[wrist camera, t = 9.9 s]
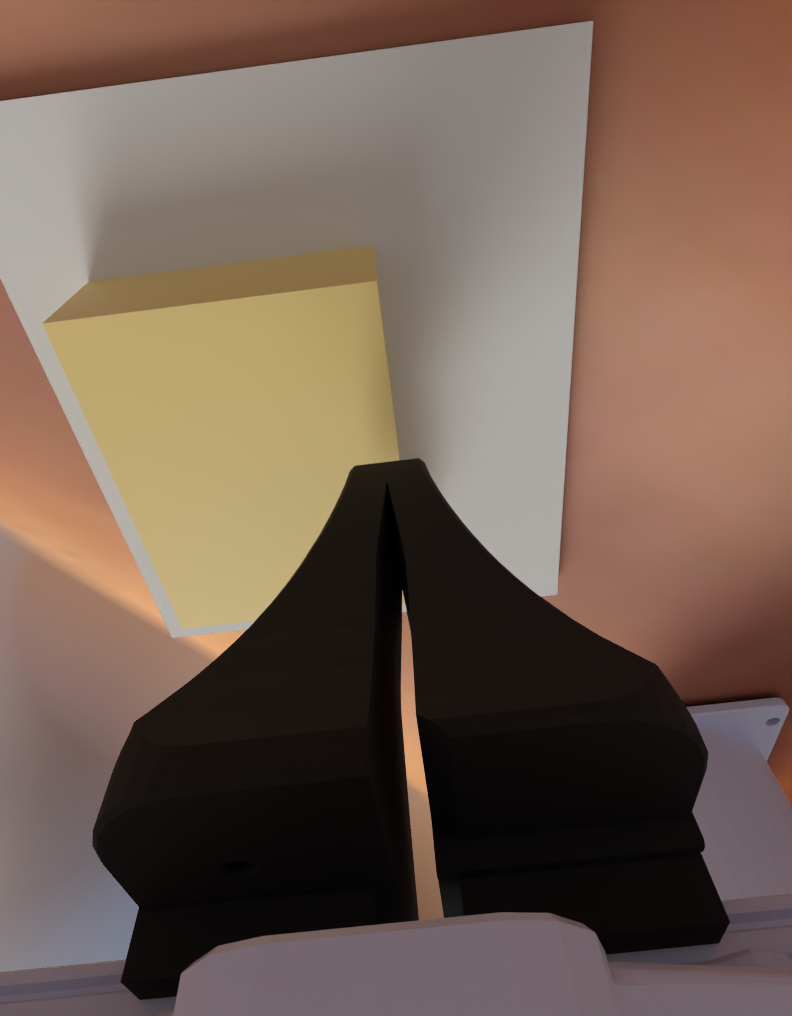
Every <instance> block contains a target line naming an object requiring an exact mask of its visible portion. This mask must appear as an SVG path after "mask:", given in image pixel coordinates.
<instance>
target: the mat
mask: <svg viewBox="0 0 792 1016" xmlns="http://www.w3.org/2000/svg"><path fill="white" fill-rule="evenodd" d="M592 35H593V21H586V22H578V23H571V24H564V25H556V26H549V27H542V28H534V29H527V30H519V31H512V32H505V33H497V34H490V35H483V36H475V37H468V38H460V39H453V40H446V41H438V42H431V43H424V44H416V45H409V46H401V47H394V48H387V49H379V50H372V51H364V52H357V53H350V54H342V55H335V56H328V57H320V58H313V59H305V60H298V61H291V62H283V63H276V64H269V65H261V66H254V67H246V68H239V69H232V70H224V71H217V72H210V73H202V74H195V75H187V76H180V77H173V78H165V79H158V80H151V81H143V82H136V83H128V84H121V85H114V86H106V87H99V88H92V89H84V90H77V91H69V92H62V93H55V94H47V95H40V96H33V97H25V98H18V99H10V100H3V101H0V279H1V281H2V283H3V285H4V287H5V289H6V291H7V293H8V296H9V298H10V300H11V302H12V304H13V306H14V308H15V310H16V312H17V314H18V316H19V319H20V321H21V323H22V325H23V327H24V329H25V331H26V333H27V335H28V337H29V339H30V342H31V344H32V346H33V348H34V350H35V352H36V354H37V356H38V358H39V360H40V362H41V365H42V367H43V369H44V371H45V373H46V375H47V377H48V379H49V381H50V383H51V385H52V388H53V390H54V392H55V394H56V396H57V398H58V400H59V402H60V404H61V406H62V408H63V411H64V413H65V415H66V417H67V419H68V421H69V423H70V425H71V427H72V429H73V431H74V434H75V436H76V438H77V440H78V442H79V444H80V446H81V448H82V450H83V452H84V454H85V457H86V459H87V461H88V463H89V465H90V467H91V469H92V471H93V473H94V475H95V477H96V480H97V482H98V484H99V486H100V488H101V490H102V492H103V494H104V496H105V498H106V500H107V503H108V505H109V507H110V509H111V511H112V513H113V515H114V517H115V519H116V521H117V523H118V526H119V528H120V530H121V532H122V534H123V536H124V538H125V540H126V542H127V544H128V546H129V549H130V551H131V553H132V555H133V557H134V559H135V561H136V563H137V565H138V567H139V569H140V572H141V574H142V576H143V578H144V580H145V582H146V584H147V586H148V588H149V590H150V592H151V595H152V597H153V599H154V601H155V603H156V605H157V607H158V609H159V611H160V613H161V615H162V618H163V620H164V622H165V624H166V626H167V628H168V630H169V632H170V634H171V636H172V638H177V637H186V636H195V635H203V634H212V633H221V632H230V631H239V630H247V629H248V628H249V627H250V626H251V625H252V624H253V623H254V622H255V621H248V622H239V623H231V624H222V625H213V626H204V627H195V628H187V629H182V627H181V625H180V622H179V620H178V618H177V616H176V614H175V612H174V609H173V607H172V605H171V603H170V601H169V599H168V596H167V594H166V592H165V590H164V588H163V585H162V583H161V581H160V579H159V577H158V575H157V572H156V570H155V568H154V566H153V564H152V562H151V559H150V557H149V555H148V553H147V551H146V548H145V546H144V544H143V542H142V540H141V538H140V535H139V533H138V531H137V529H136V527H135V525H134V522H133V520H132V518H131V516H130V514H129V511H128V509H127V507H126V505H125V503H124V501H123V498H122V496H121V494H120V492H119V490H118V488H117V485H116V483H115V481H114V479H113V477H112V475H111V472H110V470H109V468H108V466H107V464H106V461H105V459H104V457H103V455H102V453H101V451H100V448H99V446H98V444H97V442H96V440H95V438H94V435H93V433H92V431H91V429H90V427H89V424H88V422H87V420H86V418H85V416H84V414H83V411H82V409H81V407H80V405H79V403H78V401H77V398H76V396H75V394H74V392H73V390H72V387H71V385H70V383H69V381H68V379H67V377H66V374H65V372H64V370H63V368H62V366H61V364H60V361H59V359H58V357H57V355H56V353H55V351H54V348H53V346H52V344H51V342H50V340H49V337H48V335H47V333H46V331H45V329H44V327H43V324H42V323H43V322H44V321H45V320H46V319H48V318H49V317H50V316H51V315H52V314H53V313H54V312H55V311H57V310H58V309H59V308H60V307H61V306H62V305H63V304H64V303H65V302H67V301H68V300H69V299H70V298H71V297H72V296H73V295H74V294H75V293H77V292H78V291H79V290H80V289H81V288H82V287H83V286H84V285H85V284H87V283H88V282H92V281H99V280H107V279H115V278H123V277H130V276H138V275H146V274H154V273H162V272H169V271H177V270H185V269H193V268H200V267H208V266H216V265H224V264H231V263H239V262H247V261H255V260H262V259H270V258H278V257H286V256H293V255H301V254H309V253H317V252H325V251H332V250H340V249H348V248H356V247H363V246H371V245H374V251H375V259H376V267H377V275H378V283H379V291H380V299H381V307H382V315H383V323H384V331H385V339H386V347H387V355H388V363H389V371H390V379H391V387H392V395H393V403H394V411H395V419H396V427H397V435H398V443H399V451H400V459H401V460H407V459H415V458H420V459H421V460H422V461H423V462H425V464H426V467H427V469H428V471H429V473H430V475H431V477H432V479H433V481H434V482H435V484H436V486H437V487H438V489H439V490H440V492H441V493H442V495H443V496H444V498H445V499H446V501H447V502H448V504H449V505H450V506H451V508H452V509H453V510H454V511H455V513H456V514H457V515H458V517H459V518H460V519H461V521H462V522H463V523H464V524H465V525H466V527H467V528H468V529H469V530H470V531H471V533H472V534H473V535H474V536H475V537H476V538H477V539H478V540H479V541H480V543H481V544H482V545H483V546H484V547H485V548H486V549H487V550H488V551H489V552H490V553H491V554H492V555H493V556H494V557H495V558H496V559H497V560H498V561H499V562H500V563H501V564H502V565H503V566H504V567H506V568H507V569H508V570H509V571H510V572H511V573H512V574H513V575H514V576H515V577H517V578H518V579H519V580H520V581H521V582H523V583H524V584H525V585H526V586H528V587H529V588H530V589H531V590H532V591H534V592H535V593H536V594H537V595H539V596H540V597H541V596H550V595H557V588H558V572H559V556H560V540H561V525H562V509H563V493H564V477H565V461H566V446H567V430H568V414H569V398H570V382H571V367H572V351H573V335H574V319H575V303H576V288H577V272H578V256H579V240H580V225H581V209H582V193H583V177H584V161H585V146H586V130H587V114H588V98H589V82H590V67H591V51H592ZM402 612H407V610H406V605H405V604H402Z"/></svg>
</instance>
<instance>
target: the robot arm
mask: <svg viewBox="0 0 792 1016" xmlns="http://www.w3.org/2000/svg"><path fill="white" fill-rule="evenodd" d="M402 590H403V595H404V600H405V605H406V610H407V615H408V620H409V625H410V630H411V637H412V651H413V667H414V684H415V702H416V717H417V724H418V730H419V737H420V744H421V751H422V757H423V764H424V771H425V778H426V785H427V791H428V798H429V805H430V811H431V819H432V828H433V839H434V851H435V861H436V871H437V877H438V880H439V887H440V893H441V900H442V907H443V913H444V918H439V919H429V920H419V917H418V906H417V895H416V884H415V873H414V861H413V850H412V838H411V829H410V816H409V803H408V791H407V779H406V767H405V754H404V742H403V729H402V716H401V640H402ZM788 712H789V707H788V706H787V704H786V703H785V701H784V700H783V699H781V698H765V699H756V700H747V701H737V702H728V703H719V704H709V705H700V706H691V707H686V706H685V705H684V703H683V702H682V700H681V699H680V697H679V696H678V694H677V693H676V691H675V690H674V688H673V687H672V685H671V684H670V683H669V681H668V680H667V678H666V677H665V676H664V674H663V673H662V671H661V670H660V669H659V667H658V666H657V665H656V664H654V663H652V662H650V661H648V660H646V659H644V658H642V657H640V656H638V655H636V654H634V653H632V652H630V651H628V650H626V649H624V648H623V647H621V646H619V645H617V644H615V643H613V642H611V641H609V640H607V639H605V638H603V637H601V636H599V635H598V634H596V633H594V632H593V631H591V630H589V629H588V628H586V627H584V626H583V625H581V624H579V623H578V622H576V621H574V620H573V619H571V618H570V617H568V616H567V615H566V614H564V613H563V612H561V611H560V610H559V609H557V608H556V607H554V606H553V605H552V604H550V603H549V602H547V601H546V600H545V599H543V598H542V597H540V596H539V595H537V594H536V593H535V592H534V591H532V590H531V589H530V588H529V587H528V586H526V585H525V584H524V583H523V582H521V581H520V580H519V579H518V578H517V577H515V576H514V575H513V574H512V573H511V572H510V571H509V570H508V569H507V568H506V567H504V566H503V565H502V564H501V563H500V562H499V561H498V560H497V559H496V558H495V557H494V556H493V555H492V554H491V553H490V552H489V551H488V550H487V549H486V548H485V547H484V546H483V545H482V544H481V543H480V541H479V540H478V539H477V538H476V537H475V536H474V535H473V534H472V533H471V531H470V530H469V529H468V528H467V527H466V525H465V524H464V523H463V522H462V521H461V519H460V518H459V517H458V515H457V514H456V513H455V511H454V510H453V509H452V508H451V506H450V505H449V504H448V502H447V501H446V499H445V498H444V496H443V495H442V493H441V492H440V490H439V489H438V487H437V486H436V484H435V482H434V481H433V479H432V477H431V475H430V473H429V471H428V469H427V467H426V464H425V462H423V461H422V460H421V459H420V458H415V459H407V460H399V461H390V462H382V463H373V464H365V465H356V466H354V467H353V468H352V469H351V470H350V472H349V475H348V478H347V480H346V483H345V485H344V488H343V490H342V492H341V494H340V497H339V499H338V501H337V503H336V505H335V507H334V509H333V511H332V513H331V515H330V517H329V518H328V520H327V522H326V524H325V526H324V528H323V529H322V531H321V533H320V535H319V536H318V538H317V540H316V541H315V543H314V544H313V546H312V548H311V549H310V551H309V552H308V554H307V555H306V557H305V559H304V560H303V562H302V563H301V565H300V566H299V568H298V569H297V570H296V572H295V573H294V575H293V576H292V577H291V579H290V580H289V581H288V583H287V584H286V585H285V587H284V588H283V589H282V590H281V592H280V593H279V594H278V595H277V597H276V598H275V599H274V600H273V601H272V603H271V604H270V605H269V606H268V607H267V608H266V609H265V611H264V612H263V613H262V614H261V615H260V616H259V617H258V618H257V619H256V621H255V622H254V623H253V624H252V625H251V626H250V627H249V628H248V629H247V630H246V631H245V632H244V633H243V634H242V635H241V636H240V637H239V638H238V639H237V640H236V641H235V642H234V643H233V644H232V645H231V646H230V647H229V648H228V649H227V650H226V651H224V652H223V653H222V654H221V655H220V656H219V657H218V658H217V659H216V660H214V661H213V662H212V663H211V664H210V665H209V666H207V667H206V668H205V669H204V670H203V671H202V672H200V673H199V674H198V675H197V676H195V677H194V678H193V679H192V680H191V681H189V682H188V683H187V684H185V685H184V686H183V687H182V688H180V689H179V690H177V691H176V692H175V693H173V694H172V695H171V696H169V697H168V698H167V699H165V700H164V701H163V702H161V703H160V704H159V705H157V706H156V707H155V708H153V709H152V710H151V711H149V712H148V713H147V714H145V715H144V716H142V717H141V718H139V719H138V720H136V721H135V722H134V724H133V726H132V729H131V731H130V734H129V736H128V738H127V740H126V742H125V744H124V746H123V748H122V750H121V752H120V755H119V757H118V760H117V762H116V764H115V767H114V769H113V772H112V775H111V778H110V781H109V784H108V787H107V790H106V793H105V796H104V799H103V802H102V805H101V808H100V811H99V814H98V817H97V820H96V823H95V826H94V829H93V847H94V849H95V851H96V853H97V855H98V857H99V858H100V860H101V862H102V863H103V865H104V866H105V867H106V868H107V870H108V871H109V872H110V873H111V874H112V875H113V877H114V878H115V879H116V880H117V881H118V883H119V884H120V885H121V886H122V887H123V888H124V890H125V891H126V892H127V893H128V894H129V896H130V897H131V898H132V899H133V900H134V901H135V903H136V904H137V905H138V906H139V910H138V914H137V918H136V922H135V926H134V930H133V934H132V938H131V942H130V946H129V950H128V954H127V958H126V960H118V961H107V962H98V963H87V964H77V965H67V966H58V967H47V968H37V969H27V970H17V971H8V972H0V1016H792V805H791V804H790V802H789V800H788V798H787V797H786V795H785V793H784V791H783V790H782V788H781V786H780V784H779V782H778V781H777V779H776V777H775V775H774V774H773V772H772V770H771V768H770V767H769V765H768V763H767V760H768V758H769V755H770V753H771V751H772V749H773V746H774V744H775V742H776V740H777V737H778V735H779V733H780V730H781V728H782V726H783V724H784V721H785V719H786V717H787V715H788Z"/></svg>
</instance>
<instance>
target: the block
mask: <svg viewBox="0 0 792 1016" xmlns="http://www.w3.org/2000/svg"><path fill="white" fill-rule="evenodd" d="M42 324H43V327H44V329H45V331H46V333H47V335H48V337H49V340H50V342H51V344H52V346H53V348H54V351H55V353H56V355H57V357H58V359H59V361H60V364H61V366H62V368H63V370H64V372H65V374H66V377H67V379H68V381H69V383H70V385H71V387H72V390H73V392H74V394H75V396H76V398H77V401H78V403H79V405H80V407H81V409H82V411H83V414H84V416H85V418H86V420H87V422H88V424H89V427H90V429H91V431H92V433H93V435H94V438H95V440H96V442H97V444H98V446H99V448H100V451H101V453H102V455H103V457H104V459H105V461H106V464H107V466H108V468H109V470H110V472H111V475H112V477H113V479H114V481H115V483H116V485H117V488H118V490H119V492H120V494H121V496H122V498H123V501H124V503H125V505H126V507H127V509H128V511H129V514H130V516H131V518H132V520H133V522H134V525H135V527H136V529H137V531H138V533H139V535H140V538H141V540H142V542H143V544H144V546H145V548H146V551H147V553H148V555H149V557H150V559H151V562H152V564H153V566H154V568H155V570H156V572H157V575H158V577H159V579H160V581H161V583H162V585H163V588H164V590H165V592H166V594H167V596H168V599H169V601H170V603H171V605H172V607H173V609H174V612H175V614H176V616H177V618H178V620H179V622H180V625H181V627H182V629H187V628H195V627H204V626H213V625H222V624H231V623H239V622H248V621H256V619H257V618H258V617H259V616H260V615H261V614H262V613H263V612H264V611H265V609H266V608H267V607H268V606H269V605H270V604H271V603H272V601H273V600H274V599H275V598H276V597H277V595H278V594H279V593H280V592H281V590H282V589H283V588H284V587H285V585H286V584H287V583H288V581H289V580H290V579H291V577H292V576H293V575H294V573H295V572H296V570H297V569H298V568H299V566H300V565H301V563H302V562H303V560H304V559H305V557H306V555H307V554H308V552H309V551H310V549H311V548H312V546H313V544H314V543H315V541H316V540H317V538H318V536H319V535H320V533H321V531H322V529H323V528H324V526H325V524H326V522H327V520H328V518H329V517H330V515H331V513H332V511H333V509H334V507H335V505H336V503H337V501H338V499H339V497H340V494H341V492H342V490H343V488H344V485H345V483H346V480H347V478H348V475H349V472H350V470H351V469H352V468H353V467H354V466H356V465H365V464H373V463H382V462H390V461H399V460H401V459H400V451H399V443H398V435H397V427H396V419H395V411H394V403H393V395H392V387H391V379H390V371H389V363H388V355H387V347H386V339H385V331H384V323H383V315H382V307H381V299H380V291H379V283H378V275H377V267H376V259H375V251H374V245H371V246H363V247H356V248H348V249H340V250H332V251H325V252H317V253H309V254H301V255H293V256H286V257H278V258H270V259H262V260H255V261H247V262H239V263H231V264H224V265H216V266H208V267H200V268H193V269H185V270H177V271H169V272H162V273H154V274H146V275H138V276H130V277H123V278H115V279H107V280H99V281H92V282H88V283H87V284H85V285H84V286H83V287H82V288H81V289H80V290H79V291H78V292H77V293H75V294H74V295H73V296H72V297H71V298H70V299H69V300H68V301H67V302H65V303H64V304H63V305H62V306H61V307H60V308H59V309H58V310H57V311H55V312H54V313H53V314H52V315H51V316H50V317H49V318H48V319H46V320H45V321H44V322H43V323H42ZM402 604H405V600H404V595H403V590H402Z"/></svg>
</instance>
